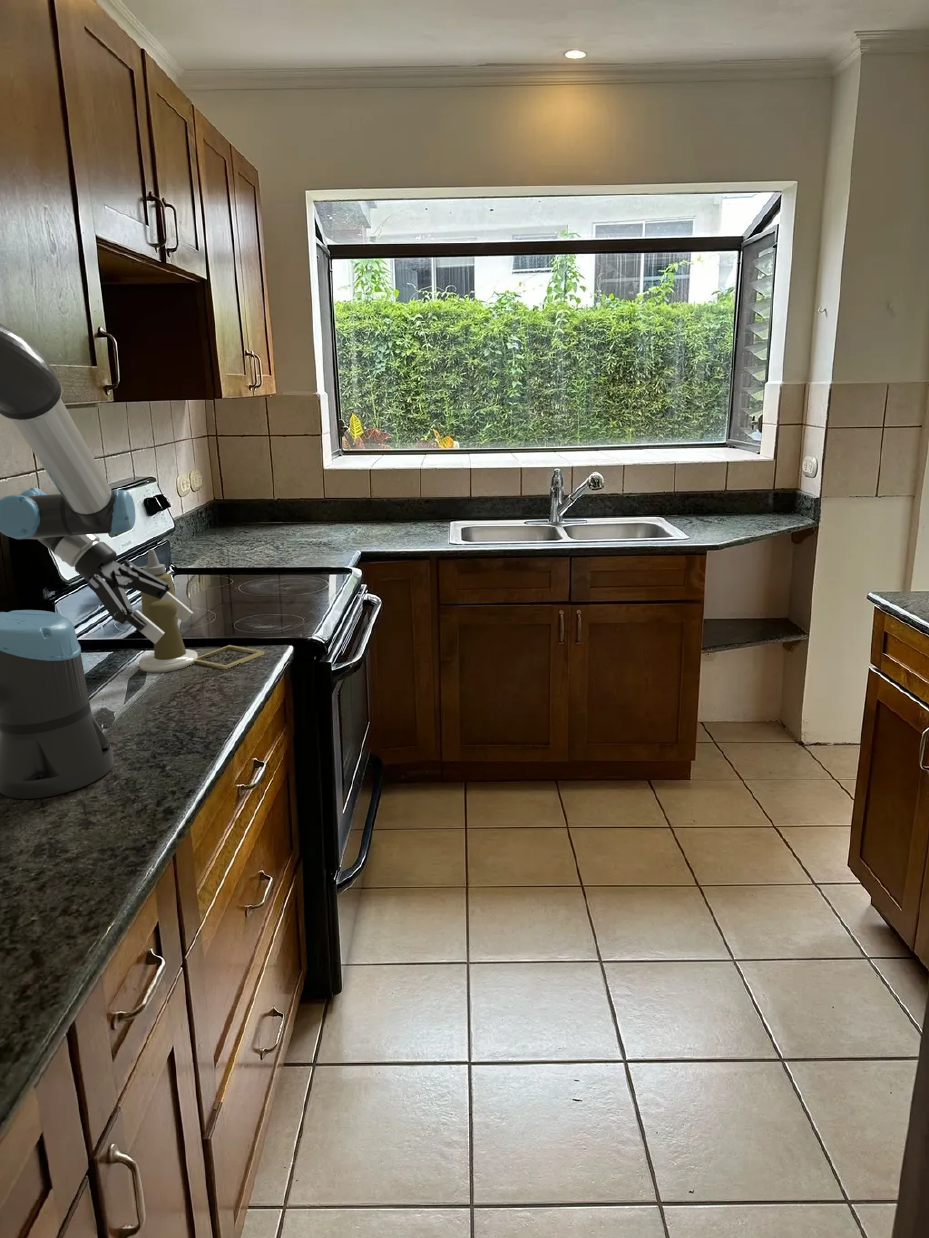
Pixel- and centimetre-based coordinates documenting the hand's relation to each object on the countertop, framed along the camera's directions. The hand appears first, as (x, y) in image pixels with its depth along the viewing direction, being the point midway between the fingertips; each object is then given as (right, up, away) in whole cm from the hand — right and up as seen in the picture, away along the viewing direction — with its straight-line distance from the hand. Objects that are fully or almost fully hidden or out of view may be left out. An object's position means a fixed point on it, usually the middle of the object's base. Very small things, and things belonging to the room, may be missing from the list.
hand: (175, 627), depth 162 cm
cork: (-2, -6, +3) cm, 7 cm away
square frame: (+9, -6, +3) cm, 12 cm away
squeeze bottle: (-12, -1, +27) cm, 29 cm away
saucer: (-2, -7, +2) cm, 8 cm away
